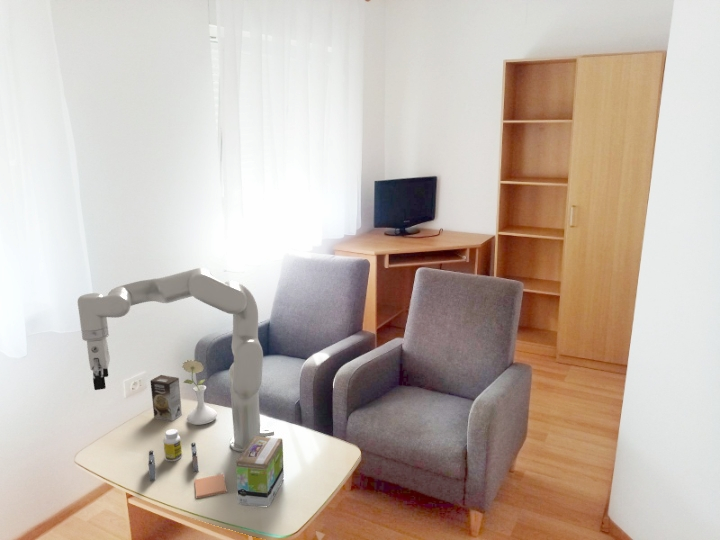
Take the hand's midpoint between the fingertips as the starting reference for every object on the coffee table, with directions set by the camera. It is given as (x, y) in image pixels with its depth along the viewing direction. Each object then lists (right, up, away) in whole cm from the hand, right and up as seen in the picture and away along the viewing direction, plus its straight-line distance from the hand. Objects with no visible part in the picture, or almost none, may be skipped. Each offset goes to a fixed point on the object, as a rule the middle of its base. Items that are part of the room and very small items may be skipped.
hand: (101, 382), depth 176 cm
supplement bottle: (+19, -29, +13) cm, 37 cm away
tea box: (+53, -33, -6) cm, 62 cm away
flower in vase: (+21, -23, +39) cm, 50 cm away
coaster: (+36, -32, -4) cm, 49 cm away
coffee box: (+7, -22, +42) cm, 48 cm away
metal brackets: (+21, -30, +6) cm, 38 cm away
